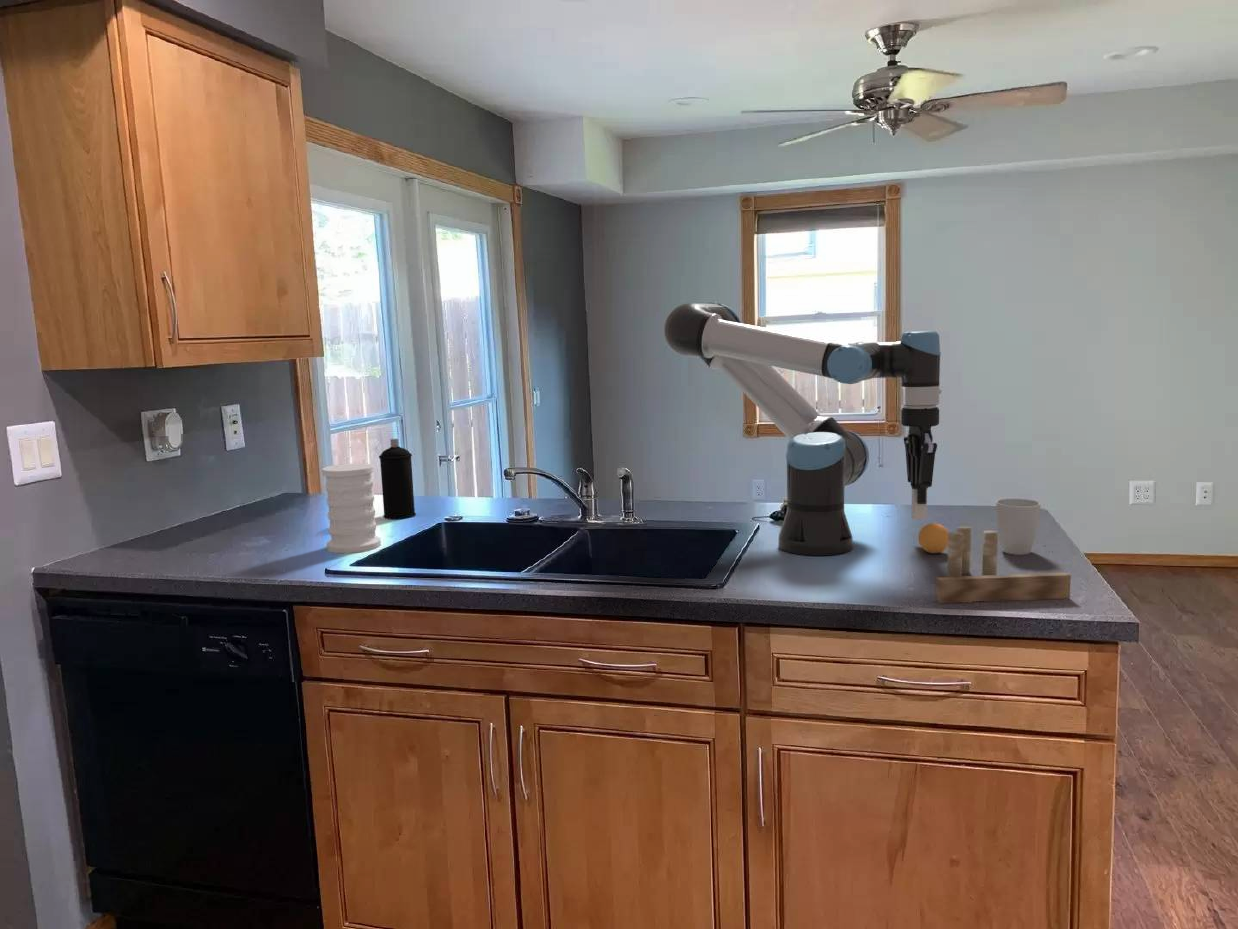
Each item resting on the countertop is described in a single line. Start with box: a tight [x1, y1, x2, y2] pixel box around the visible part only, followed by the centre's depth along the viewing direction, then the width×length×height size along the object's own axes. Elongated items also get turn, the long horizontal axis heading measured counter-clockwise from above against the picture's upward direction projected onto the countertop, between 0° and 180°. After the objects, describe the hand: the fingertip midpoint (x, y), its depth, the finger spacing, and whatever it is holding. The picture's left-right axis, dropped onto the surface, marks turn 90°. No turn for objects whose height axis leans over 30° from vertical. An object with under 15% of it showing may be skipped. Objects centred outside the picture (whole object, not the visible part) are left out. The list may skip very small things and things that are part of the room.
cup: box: [995, 498, 1041, 556], centre depth 182 cm, size 8×8×10 cm
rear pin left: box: [981, 530, 999, 576], centre depth 165 cm, size 2×2×8 cm
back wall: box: [935, 572, 1072, 604], centre depth 153 cm, size 22×2×4 cm, turn 92°
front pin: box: [956, 525, 972, 575], centre depth 169 cm, size 2×2×8 cm
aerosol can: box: [378, 438, 417, 520], centre depth 233 cm, size 8×8×20 cm
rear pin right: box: [946, 531, 963, 577], centre depth 165 cm, size 2×2×8 cm
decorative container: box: [321, 462, 382, 554], centre depth 202 cm, size 12×12×18 cm
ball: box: [917, 522, 949, 554], centre depth 183 cm, size 6×6×6 cm
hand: (919, 518), depth 192 cm, fingers closed
